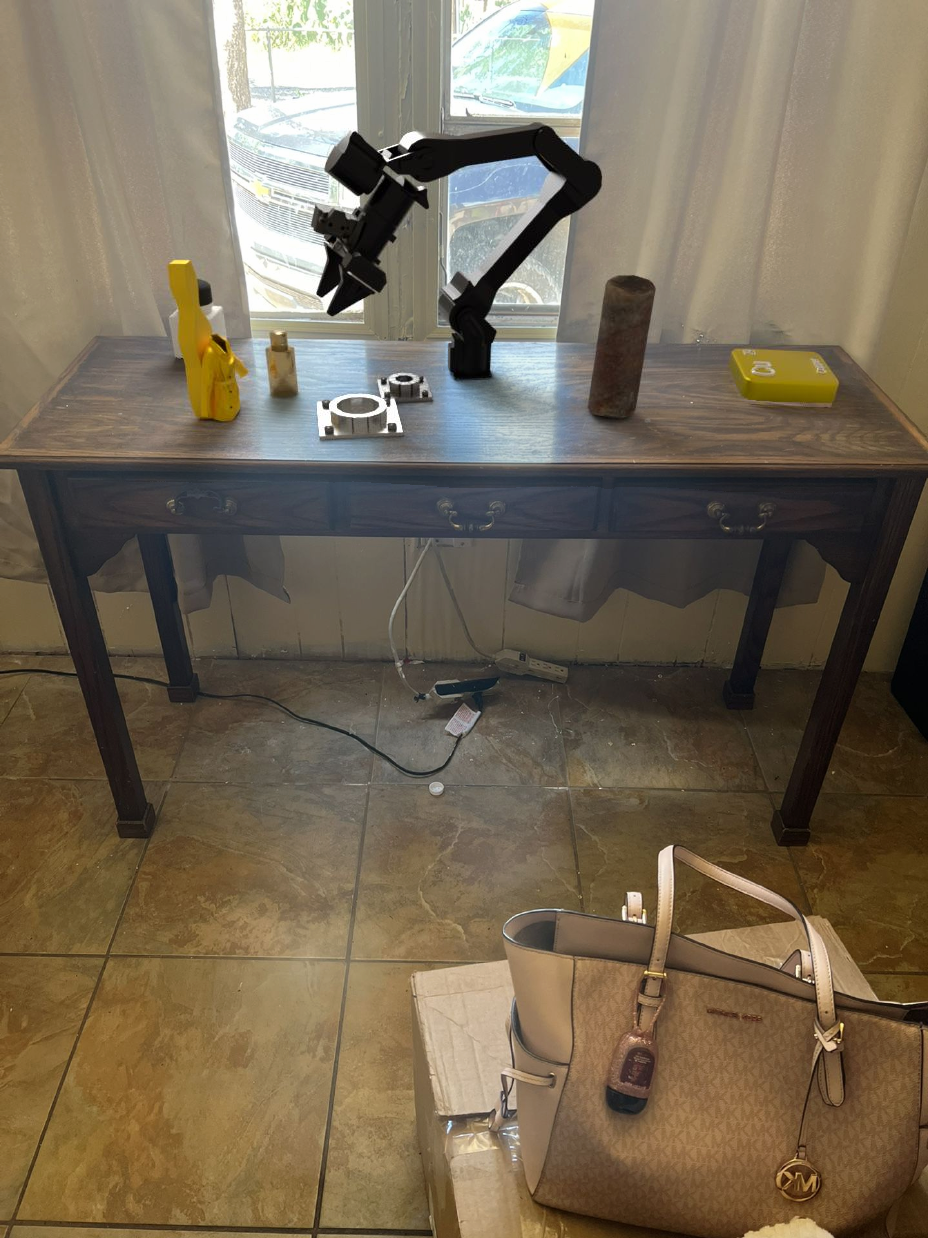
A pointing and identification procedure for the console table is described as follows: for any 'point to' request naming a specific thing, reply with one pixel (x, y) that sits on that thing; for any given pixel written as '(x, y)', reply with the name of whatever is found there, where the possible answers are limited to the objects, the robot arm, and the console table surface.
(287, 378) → the gold metal cylinder
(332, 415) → the flange large
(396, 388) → the flange small
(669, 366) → the console table surface
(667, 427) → the console table surface
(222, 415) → the yellow tall sculpted piece
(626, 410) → the rusty brown cylinder
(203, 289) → the medicine bottle
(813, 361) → the element tile
